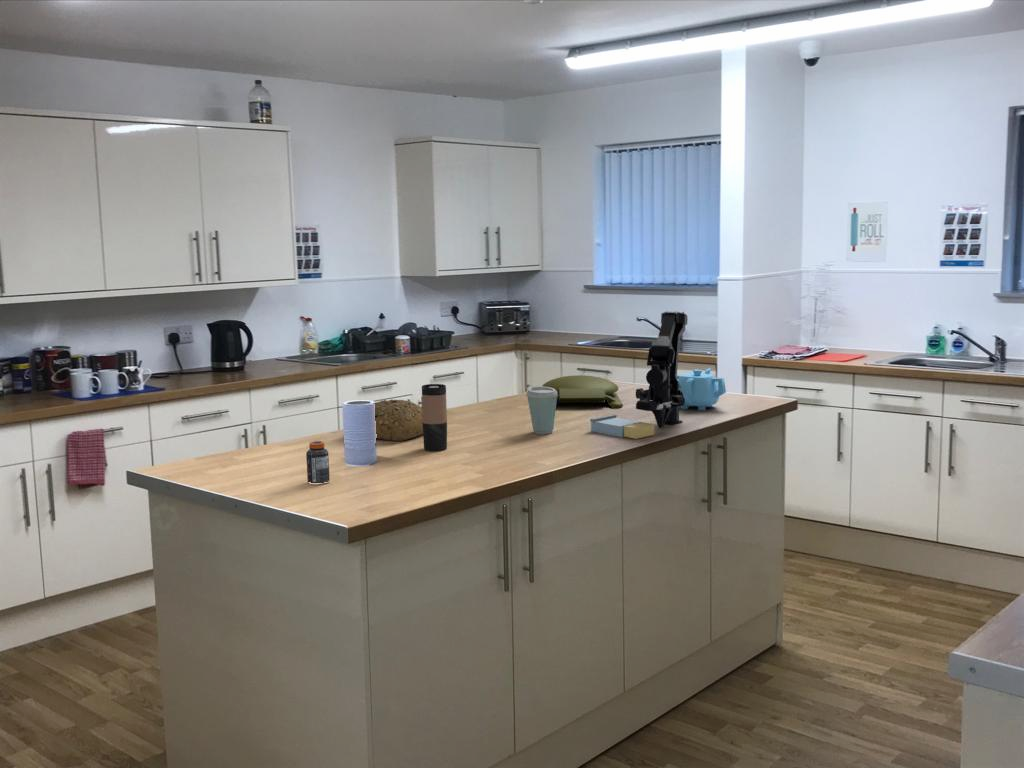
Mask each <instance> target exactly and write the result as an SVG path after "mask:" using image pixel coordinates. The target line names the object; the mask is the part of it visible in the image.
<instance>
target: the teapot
mask: <svg viewBox="0 0 1024 768" xmlns="http://www.w3.org/2000/svg"><path fill="white" fill-rule="evenodd" d="M711 370H712V368H711V367H708V368H707V369H705V371H704V373H702V369H693V370H692V372H688V373H684V374H677V380H678V382H679V384H680V386H681V389H682V393H683V396H684V398H685V404H684V406H681V407H680V409H681V410H682V409H683V410H688V409H689V407H697V410H698V411H700V410H705V411H707V409H706V408H707V407H712V408H714V407H713V405H716V404H717V403H718V401H719V399H720V397H721V396H722V395H724V394H725V393H727V389H726V383H725V378H724V377H716V376H715V374H711Z"/></svg>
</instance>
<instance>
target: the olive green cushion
mask: <svg viewBox="0 0 1024 768" xmlns="http://www.w3.org/2000/svg"><path fill="white" fill-rule="evenodd" d="M542 386H544V387H550V388H553V389H555V390H556V391H557V394H558V395H557V400H558V403H559V404H563V403H564V404H567V403H568V404H571V403H573V404H575V403H576V404H578V403H605V401H606V402H607V404H608V406H609V408H611V409H621V408H622V407H623V406H624V405H623V402H622V401H621V399H620V397H619V395H618V394H617V392H618V391H619V387H618V385H617V384H616V383H615V382H613V381H612V380H609V379H606V378H604V377H601V376H593V375H580V374H579V375H567V376H566V375H565V376H560V377H556V378H553V379H550V380H548V381H546V382H544V383H543V384H542Z"/></svg>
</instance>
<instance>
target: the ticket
mask: <svg viewBox="0 0 1024 768" xmlns="http://www.w3.org/2000/svg"><path fill="white" fill-rule="evenodd" d="M589 421H590V422H591V423H590V432H592V433H593V432H595V433H600V434H604V435H607V436H608V435H609V436H614V437H617V438H619V437H620V438H625V437H624V426H627V425H632V424H636V423H640V422H641V421H637V420H636V421H635V420H632V419H631V420H630V419H625V418H620V417H618V416H617V414H609V415H603V416H598V417H593V418H590V419H589Z"/></svg>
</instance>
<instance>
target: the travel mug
mask: <svg viewBox="0 0 1024 768" xmlns="http://www.w3.org/2000/svg"><path fill="white" fill-rule="evenodd" d="M421 404H422V405H421V407H422V422H423V423H422V424H423V434H422V436H423V437H422V439H423V449H424V451H426V452H442V451H443V452H444V451H446V450H447V449H448V448H447V447H448V413H447V412H448V410H447V409H448V408H447V406H448V405H447V386H446V385H445V384H442V383H428V384H423V385H421Z"/></svg>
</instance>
